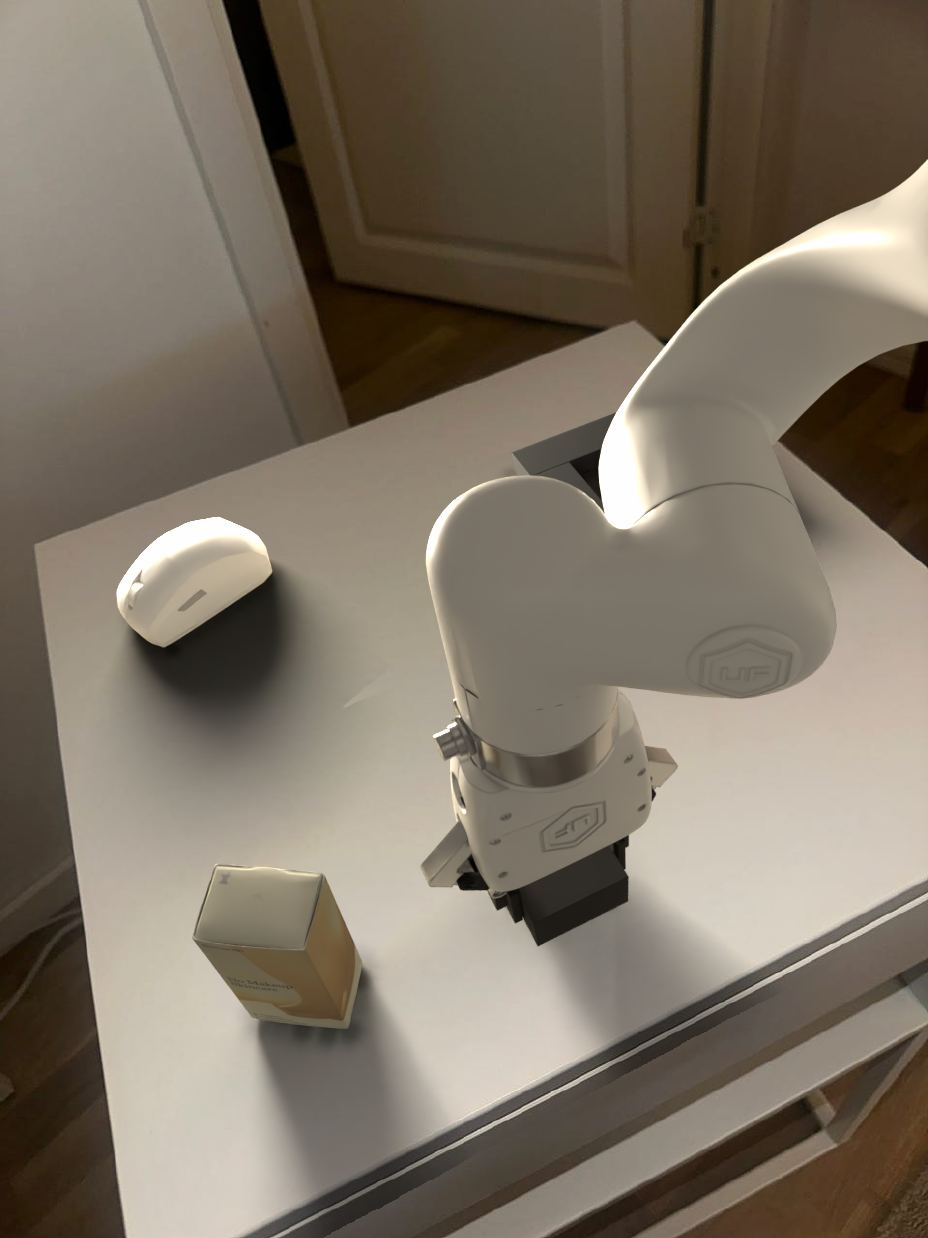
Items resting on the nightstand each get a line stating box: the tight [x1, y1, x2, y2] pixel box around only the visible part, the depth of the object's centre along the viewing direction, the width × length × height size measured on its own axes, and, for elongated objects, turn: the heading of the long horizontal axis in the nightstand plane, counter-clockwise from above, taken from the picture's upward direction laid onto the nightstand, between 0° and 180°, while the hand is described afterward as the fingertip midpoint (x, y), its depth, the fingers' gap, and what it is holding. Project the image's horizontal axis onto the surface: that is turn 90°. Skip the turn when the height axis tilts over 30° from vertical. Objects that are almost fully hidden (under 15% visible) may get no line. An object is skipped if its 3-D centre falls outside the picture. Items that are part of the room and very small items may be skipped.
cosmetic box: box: [191, 863, 363, 1030], centre depth 54 cm, size 6×4×12 cm
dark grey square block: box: [519, 845, 629, 947], centre depth 58 cm, size 6×6×3 cm
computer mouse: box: [116, 516, 273, 648], centre depth 79 cm, size 6×13×6 cm, turn 132°
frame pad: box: [511, 411, 617, 514], centre depth 83 cm, size 15×15×2 cm
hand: (558, 875), depth 59 cm, fingers closed on dark grey square block, 6 cm apart
